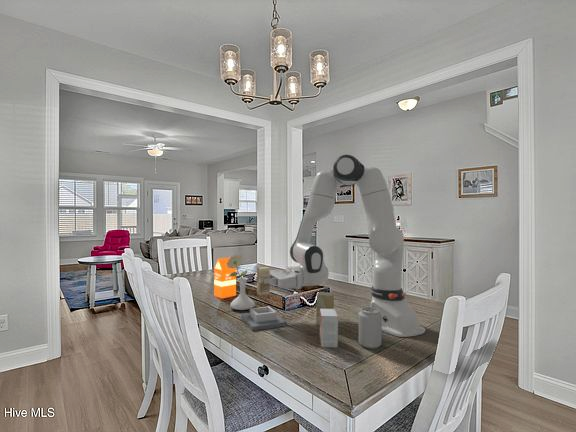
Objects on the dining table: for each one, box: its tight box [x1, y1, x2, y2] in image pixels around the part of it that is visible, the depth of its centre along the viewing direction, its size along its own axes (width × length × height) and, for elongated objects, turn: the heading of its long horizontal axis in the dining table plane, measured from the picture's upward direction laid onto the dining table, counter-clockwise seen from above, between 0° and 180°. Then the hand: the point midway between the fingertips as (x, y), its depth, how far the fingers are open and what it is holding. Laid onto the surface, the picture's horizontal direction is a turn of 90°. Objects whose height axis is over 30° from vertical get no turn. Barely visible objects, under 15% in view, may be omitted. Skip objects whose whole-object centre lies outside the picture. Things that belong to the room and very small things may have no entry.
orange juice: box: [213, 256, 237, 299], centre depth 166 cm, size 8×9×20 cm
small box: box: [318, 308, 339, 348], centre depth 107 cm, size 8×6×10 cm
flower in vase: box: [227, 254, 256, 311], centre depth 144 cm, size 13×11×25 cm
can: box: [358, 306, 383, 350], centre depth 105 cm, size 8×8×12 cm
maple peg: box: [256, 266, 271, 297], centre depth 127 cm, size 4×4×11 cm
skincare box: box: [315, 291, 335, 326], centre depth 125 cm, size 6×4×12 cm
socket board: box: [240, 305, 288, 332], centre depth 127 cm, size 16×14×4 cm
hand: (261, 279), depth 126 cm, fingers closed on maple peg, 4 cm apart
